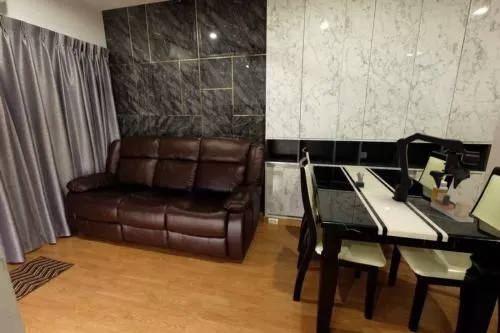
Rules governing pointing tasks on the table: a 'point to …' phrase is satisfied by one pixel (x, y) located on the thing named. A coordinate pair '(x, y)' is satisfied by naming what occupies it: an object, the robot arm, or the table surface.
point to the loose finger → (443, 199)
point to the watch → (360, 180)
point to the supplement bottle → (439, 190)
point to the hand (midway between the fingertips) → (446, 188)
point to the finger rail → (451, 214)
